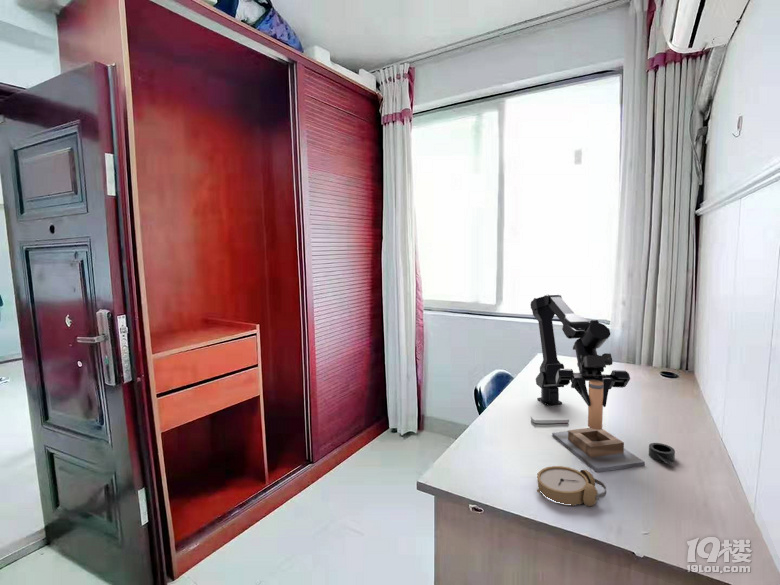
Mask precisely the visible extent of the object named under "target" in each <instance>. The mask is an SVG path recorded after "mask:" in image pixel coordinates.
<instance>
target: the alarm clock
mask: <svg viewBox="0 0 780 585" xmlns="http://www.w3.org/2000/svg"><path fill="white" fill-rule="evenodd" d="M536 478H537V488H538V487H539V489H536V492H537V493H540V491H541V492H542V493H543V494H544V495H545V496H546V497H548V498H550V499H552V500H554V501H556V502H560V503H564V504H571V505H573V506H576V505H575V504H579V505H581V504H584V505H585V506H587V505H588V506H587V507H592V506H594V505H596V504H597V501H600V499H601V498H604V497H606V496H607V494H608V493H607V492H608V488H607V486H606V484H605V483H604V482H603V481H601V480H599V479H596V477H594V476H593V474H592V473H591V472H590V471H589V470H588V469H581V470H580V471H579V470H577V469H575V468H571V467H567V466H562V465H560V466H559V465H553V466H547V467H544V468H541V469H540V470H539V471H538V472H537V475H536ZM596 484H598V485H599V486H600V487H602V488H603V489H604V490H603V492H601V493H598V489H597V488H596ZM571 505H570V506H571Z"/></svg>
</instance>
